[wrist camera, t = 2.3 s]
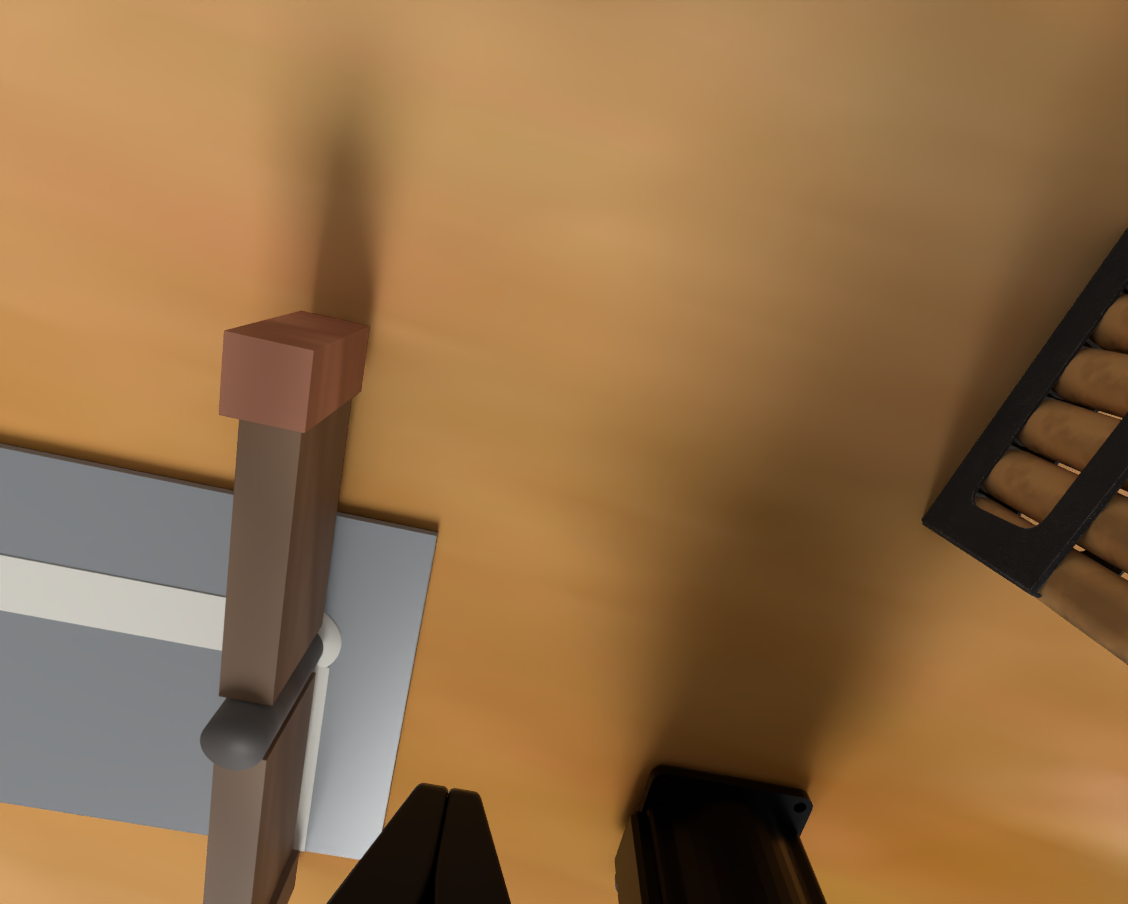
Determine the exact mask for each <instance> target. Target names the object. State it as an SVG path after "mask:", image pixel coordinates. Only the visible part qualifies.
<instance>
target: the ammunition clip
mask: <svg viewBox="0 0 1128 904" xmlns="http://www.w3.org/2000/svg"><path fill="white" fill-rule="evenodd" d="M1098 411H1102V412H1105V413H1108V414H1112V415H1115V416H1118V417H1122V418H1123V419H1122V420H1120V419H1116V418H1113V417H1110V416H1107V415H1104V414H1101V413H1098ZM1059 463H1062V464H1064V465H1066V466H1069V467H1071V468H1073V469H1076V470H1078V471H1080V472H1081V473H1080V474H1079V475H1077V474H1075V473H1073V472H1071V471H1068V470H1066V469H1064V468H1062V467H1060V466H1057V465H1058V464H1059ZM1119 489H1123V490H1125V491H1127V492H1128V228H1127V229H1126V231H1125V232H1124V234H1123V235H1122V236H1121V238H1120V239H1119V241H1118V242H1117V244H1116V245H1115V246H1114V248H1113V249H1112V251H1111V252H1110V253H1109V255H1108V256H1107V258H1106V259H1105V261H1104V262H1103V263H1102V265H1101V266H1100V268H1099V269H1098V270H1097V272H1096V273H1095V275H1094V276H1093V278H1092V279H1091V280H1090V282H1089V283H1088V285H1087V286H1086V287H1085V289H1084V290H1083V292H1082V293H1081V295H1080V296H1079V297H1078V299H1077V300H1076V302H1075V303H1074V304H1073V306H1072V307H1071V309H1070V310H1069V312H1068V313H1067V314H1066V316H1065V317H1064V319H1063V320H1062V322H1061V323H1060V324H1059V326H1058V327H1057V329H1056V330H1055V331H1054V333H1053V334H1052V336H1051V337H1050V339H1049V340H1048V341H1047V343H1046V344H1045V346H1044V347H1043V348H1042V350H1041V351H1040V353H1039V354H1038V356H1037V357H1036V358H1035V360H1034V361H1033V363H1032V364H1031V365H1030V367H1029V368H1028V370H1027V371H1026V373H1025V374H1024V375H1023V377H1022V378H1021V380H1020V381H1019V383H1018V384H1017V385H1016V387H1015V388H1014V390H1013V391H1012V392H1011V394H1010V395H1009V397H1008V398H1007V400H1006V401H1005V402H1004V404H1003V405H1002V407H1001V408H1000V409H999V411H998V412H997V414H996V415H995V417H994V418H993V419H992V421H991V422H990V424H989V425H988V426H987V428H986V429H985V431H984V432H983V434H982V435H981V436H980V438H979V439H978V441H977V442H976V443H975V445H974V446H973V448H972V449H971V451H970V452H969V453H968V455H967V456H966V458H965V459H964V461H963V462H962V463H961V465H960V466H959V468H958V469H957V470H956V472H955V473H954V475H953V476H952V478H951V479H950V480H949V482H948V483H947V485H946V486H945V487H944V489H943V490H942V492H941V493H940V495H939V496H938V497H937V499H936V500H935V502H934V503H933V504H932V506H931V507H930V509H929V510H928V512H927V513H926V514H925V516H924V517H923V519H922V522H923V525H925V526H926V527H928V528H929V529H931V530H932V531H934V532H935V533H937V534H939V535H940V536H942V537H943V538H945V539H946V540H948V541H949V542H951V543H952V544H954V545H955V546H957V547H958V548H960V549H961V550H963V551H964V552H966V553H967V554H969V555H971V556H972V557H974V558H975V559H977V560H978V561H980V562H981V563H983V564H984V565H986V566H987V567H989V568H990V569H992V570H993V571H995V572H996V573H998V574H1000V575H1001V576H1003V577H1004V578H1006V579H1007V580H1009V581H1010V582H1012V583H1013V584H1015V585H1016V586H1018V587H1019V588H1021V589H1022V590H1024V591H1025V592H1027V593H1029V594H1030V595H1032V596H1034V597H1035V598H1037V599H1038V600H1039V601H1041V602H1042V603H1044V604H1045V605H1046V606H1048V607H1049V608H1050V609H1052V610H1053V611H1055V612H1056V613H1057V614H1059V615H1060V616H1061V617H1063V618H1064V619H1066V620H1067V621H1068V622H1070V623H1071V624H1072V625H1074V626H1075V627H1076V628H1078V629H1079V630H1081V631H1082V632H1083V633H1085V634H1086V635H1087V636H1089V637H1090V638H1092V639H1093V640H1094V641H1096V642H1097V643H1098V644H1100V645H1101V646H1103V647H1104V648H1105V649H1107V650H1108V651H1109V652H1111V653H1112V654H1113V655H1115V656H1116V657H1118V658H1119V659H1120V660H1122V661H1123V662H1124V663H1126V664H1127V665H1128V580H1126V579H1124V578H1123V577H1121V575H1122V574H1123V573H1124V572H1126V573H1128V497H1126V496H1124V495H1122V494H1119V493H1117V492H1118V490H1119ZM1021 514H1024V515H1026V516H1027V517H1029V518H1031V519H1033V520H1035V521H1036V522H1038V523H1040V524H1038V525H1034V524H1032V523H1031V522H1029V521H1027V520H1026V519H1024V518H1022V517H1021V516H1020V515H1021ZM1075 544H1077V545H1078V546H1080V547H1082V548H1084V549H1085V550H1084V551H1080V552H1079V551H1077V550H1076V549H1074V548H1073V547H1074V545H1075Z"/></svg>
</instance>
